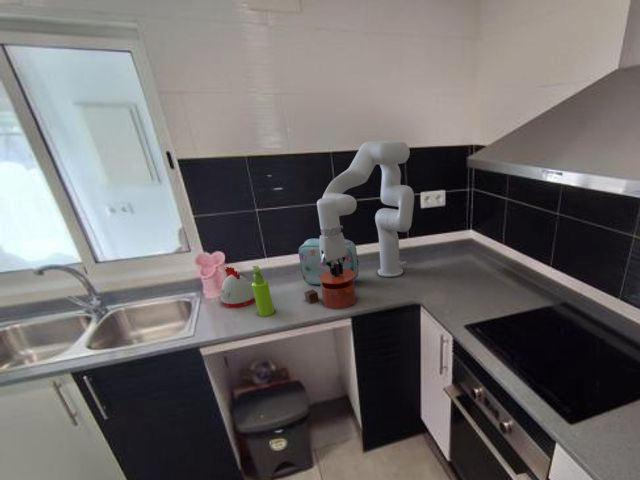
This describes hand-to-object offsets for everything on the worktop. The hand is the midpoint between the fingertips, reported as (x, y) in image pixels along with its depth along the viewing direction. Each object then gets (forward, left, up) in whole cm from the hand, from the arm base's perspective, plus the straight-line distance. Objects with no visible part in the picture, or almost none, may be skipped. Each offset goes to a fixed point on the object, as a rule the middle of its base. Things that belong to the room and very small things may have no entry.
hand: (337, 274), depth 157 cm
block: (+8, -9, -12) cm, 17 cm away
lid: (0, 0, -1) cm, 1 cm away
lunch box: (-9, -19, -13) cm, 24 cm away
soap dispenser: (+27, -12, -13) cm, 33 cm away
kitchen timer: (+30, -32, -13) cm, 46 cm away
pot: (0, 0, -12) cm, 12 cm away
